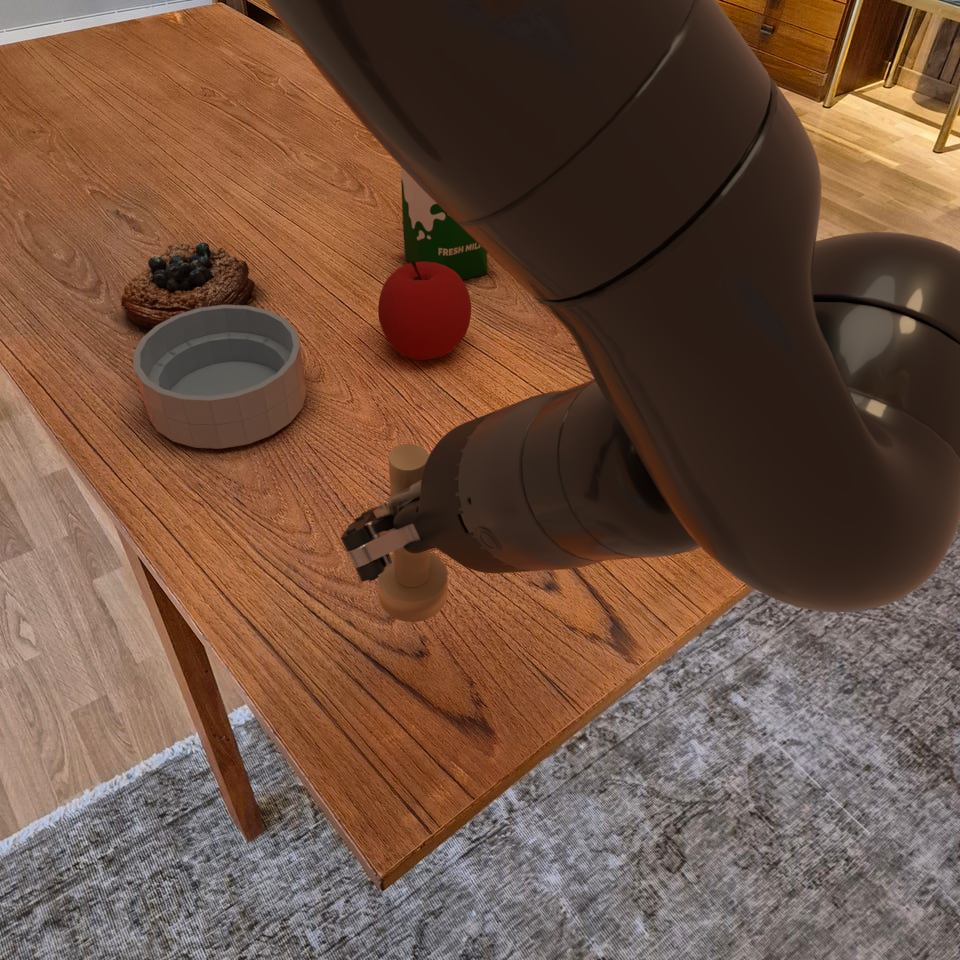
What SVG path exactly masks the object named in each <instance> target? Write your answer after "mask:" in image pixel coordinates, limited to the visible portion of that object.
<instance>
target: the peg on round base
mask: <svg viewBox="0 0 960 960" xmlns="http://www.w3.org/2000/svg"><path fill="white" fill-rule="evenodd" d="M428 458H429V453H428V451H427V450H426V449H425V448H424V447H422V446H421V445H418V444H415V443H402V444H399V445H398V446H395V447H394V448H392V449H391V450H390V452H389V454H388V457H387V461H388V476H389V477H388V478H389V495H390V496H389V497H391V496H392V495H394V494H396V493H398V492H400V491H402V490H404V489H406V488H408V487H410V486H411V485H412V484H414V483H416V482H418V481H420V480H422V476H423V471H424V468H425V465H426V462H427V460H428ZM389 556H390V558H391V560H392V562H393V563H392V565H390V566H388V567H385V569H384V571H383V572H382V573H381V574H379V575H378V576H379V577H378V578H376V579H377V590H378V591H377V592H378V600H379V604H380V606H381V608H382V610H384V612H386V614H387V615H389V616H390V617H392V618H394V619H395V620H398V621H402V622H407V623H418V622H423V621H426V620H427V621H428V620H429V619H431V618H433V617H435V616H436V615H438V614H439V613H440V612H441V611H442V609H443V608H444V607H445V605H446V603H447V600H448V591H449V590H448V586H449V585H448V581H449V580H448V579H449V578H448V577H449V575H448V569H447V567H446V565H445V563H444V562H443V560H442V559H441V558H440V557H439V556H437V555H436V554H434V553H432V552H431V551H430V552H425V553H420V554H413V553H410V552H408V551H406V550H405V549H404V548H402V549H397V550H395V551H393V553H392V554H390V555H389Z"/></svg>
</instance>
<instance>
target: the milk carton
mask: <svg viewBox="0 0 960 960" xmlns="http://www.w3.org/2000/svg"><path fill="white" fill-rule="evenodd" d="M400 182H401V184H400V186H401V212H402V232H403V247H404V248H403V249H404V258H405V259H406V261H407V262H408V264H410V263H411V260H412V259H414V261H415V262H433V263H438V264H441V265H445V266H447V267H448V268H450V269H452V270H453V271H455V272H456V273H457V274H458V275H459V276H460V278H461V279H462V280H463V281H464V280H469V279H473V278H476V277H481V276H485V275H487V274H488V252H487V251H486V250H484V249H483V248H482V247H481V246H480V245H479V244H478V243H477V242H476V241H475V240H474V239H473V238H472V237H471V236H470V235H469V234H468V233H467V232H466V231H465V230H464V229H463V228H462V227H461V226H460V225H459V224H458V223H457V222H456V221H455V220H454V219H452V218H451V217H450V216H449V215H448V214H447V213H446V212H445V211H444V210H443V209H442V208H441V207H440V206H439V205H438V204H437V203H436V202H435V201H434V200H433V199H432V198H431V197H430V196H429V195H428V194H427V193H426V192H425V191H424V190H423V189H422V188H421V187H420V186H419V185H418V184H417V183H416V182H415V181H414V180H413V179H412V177H411V176H410V175H409V174H408V173H407V172H406V171H405V170H404V169H403V168H402V167H401V166H400Z"/></svg>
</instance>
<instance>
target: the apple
mask: <svg viewBox="0 0 960 960" xmlns="http://www.w3.org/2000/svg"><path fill="white" fill-rule="evenodd" d="M377 309H378V310H377V312H378V313H377V314H378V322H379V324H380V328H381V330H382V332H383V334H384V336H385V338H386V339H387V341H388V342H389V344H390V345H391V346H392V348H393V349H394V350H396V351H397V352H398V353H399V354H400V355H401V356H403V357H404V358H407V359H410V360H416V361H427V360H431V359H432V360H433V359H437V358H441V357H444V356H446V355H448V354H449V353H450V352H452V351H453V350H454V349H455V348H456V347H457V346H458V345H459V344H460V343H461V342H462V341H463V339H464V337H465V336H466V334H467V331H468V330H469V326H470V324H471V317H472V302H471V296H470V293H469V290H468V287H467V286H466V283H465V281H464V280H462V279H461V278H460V276H459V275H458V274H457V273H456V272H455V271H453V270H452V269H450V268H448V267H447V266H445V265H441V264H438V263H433V262H415V261H414V259H412V260H411V263H407V264H404V265H402V266H400V267H398V268H397V269H395V270H394V271H393V272H391V274H390V275H389V276H388V277H387V278H386V280H385V282H384V284H383V286H382V289H381V291H380V294H379V298H378V306H377Z"/></svg>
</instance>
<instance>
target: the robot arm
mask: <svg viewBox="0 0 960 960" xmlns="http://www.w3.org/2000/svg"><path fill="white" fill-rule="evenodd" d="M264 1H265V2H266V4H267V5H268V7H270V9H271V10H272V12H273V13H274V14H275V15H276V17H277V18H278V20H279V21H280V23H281V24H282V25H283V27H284V29H286V31H287V33H289V35H290V36H291V37H292V39H293V40H294V41H295V42H296V43H297V45H298V47H300V49H301V50H302V51H303V53H304V54H305V56H306V57H307V58H308V59H309V61H310V62H311V63H312V64H313V65H314V67H315V68H316V70H318V72H319V73H320V75H322V77H323V78H324V79H325V80H326V82H327V83H328V84H329V86H330V87H331V88H332V89H333V91H334V92H335V93H336V94H337V95H338V97H339V98H340V99H341V100H342V102H343V103H344V104H345V105H346V106H347V107H348V108H349V110H350V111H351V112H352V113H353V114H354V116H355V117H356V118H357V119H358V121H359V122H360V123H361V125H363V126H364V128H366V130H367V131H368V132H369V134H371V135H372V136H373V138H374V139H375V140H376V141H377V142H378V143H379V144H380V145H381V147H383V149H384V150H385V151H386V152H387V153H388V154H389V156H390V157H391V158H392V159H393V160H394V161H395V162H396V163H397V164H398V165H399V166H400V168H401V167H402V168H403V169H404V170H405V171H406V172H407V173H408V174H409V175H410V176H411V177H412V179H413V180H414V181H415V182H416V183H417V184H418V185H419V186H420V187H421V188H422V189H423V190H424V191H425V192H426V193H427V194H428V195H429V196H430V197H431V198H432V199H433V200H434V201H435V202H436V203H437V204H438V205H439V206H440V207H441V208H442V209H443V210H444V211H445V212H446V213H447V214H448V215H449V216H450V217H451V218H452V219H454V220H455V221H456V222H457V223H458V224H459V225H460V226H461V227H462V228H463V229H464V230H465V231H466V232H467V233H468V234H469V235H470V236H471V237H472V238H473V239H474V240H475V241H476V242H477V243H478V244H479V245H480V246H481V247H482V248H483V249H484V250H486V251H487V254H488V255H489V256H491V258H492V259H494V260H495V262H496V263H498V264H499V265H500V266H501V268H502V269H504V270H505V271H506V272H507V273H508V274H509V275H510V276H511V277H512V278H513V279H514V280H515V281H516V282H517V283H518V284H519V285H520V286H521V287H522V288H523V289H524V290H526V292H528V293H529V294H530V295H531V296H532V297H533V299H535V300H536V301H537V302H538V303H539V304H540V305H541V306H542V307H543V309H545V310H546V311H547V312H548V313H549V314H550V315H551V316H553V317H554V318H555V319H556V320H557V321H558V322H559V323H560V324H561V325H562V326H563V327H564V328H565V330H566V331H567V333H569V334H570V336H571V338H572V340H573V341H574V343H575V345H576V346H577V348H578V350H579V352H580V354H581V355H582V358H583V360H584V362H585V363H586V365H587V367H588V369H589V371H590V373H591V375H592V377H593V379H590V380H587V381H585V382H583V383H579V384H577V385H574V386H572V387H570V388H567V389H563V390H554V391H548V392H542V393H540V394H539V393H538V394H536V395H531V396H530V397H527V398H525V399H522V400H520V401H517V402H514V403H512V404H510V405H507V406H505V407H501V408H499V409H496V410H493V411H491V412H489V413H486V414H484V415H480V416H479V417H476V418H474V419H471V420H469V421H466V422H463V423H461V424H459V425H457V426H455V427H454V428H452V429H450V430H449V431H448V432H447V433H446V434H445V435H443V436H442V437H441V438H440V439H439V441H438V442H437V443H436V444H435V446H434V447H433V448H432V450H431V452H430V454H429V455H428V460H427V462H426V465H425V468H424V471H423V476H422V480H420V481H418V482H416V483H414V484H412V485H411V486H410V487H408V488H406V489H404V490H402V491H400V492H398V493H396V494H394V495H392V496H391V497H390V496H388V498H387V499H386V500H387V501H386V502H383V503H381V504H379V505H378V506H375V507H372V508H370V509H367V510H366V511H363V512H361V513H360V516H358V517H356V518H354V520H355V521H353V522H351V523H350V524H349V525H348V526H347V528H346V529H345V530H344V532H343V533H342V535H341V536H340V540H341V542H342V544H343V546H344V549H345V550H346V552H347V554H348V557H349V559H350V561H351V563H352V565H353V567H354V569H355V571H356V573H357V575H358V577H359V579H360V581H361V582H362V583H363V582H364V583H365V582H367V581H369V582H372V581H374V580H376V579H377V578H378V577H379V576H378V575H379V574H381V573H382V572H383V571H384V569H385V567H388V566H390V565H392V563H393V562H392V560H391V558H390V556H391V555H390V553H392V552H393V553H394V551H395V550H397V549H402V548H404V549H405V550H406V551H408V552H410V553H413V554H420V553H425V552H430V553H431V552H435V551H438V552H439V553H442V554H444V555H446V556H447V557H449V558H450V559H451V560H453V561H454V562H456V563H458V564H459V565H461V566H462V567H465V568H467V569H469V570H472V571H476V572H478V573H484V574H510V573H528V572H542V571H543V572H544V571H561V570H562V571H563V570H572V569H580V568H584V567H585V568H586V567H589V566H591V565H595V564H598V563H601V562H606V561H619V560H632V559H634V560H635V559H649V558H650V559H651V558H662V557H664V558H665V557H671V556H675V555H679V554H684V553H688V552H689V553H690V552H692V551H696V550H697V549H700V548H701V549H702V550H703V551H704V552H705V553H706V554H707V555H708V556H709V557H710V558H711V559H712V560H713V561H715V562H716V563H717V564H718V565H719V566H721V567H722V568H723V569H725V570H726V571H727V572H728V573H730V574H731V575H732V576H733V577H734V578H736V579H737V580H739V581H741V582H743V583H744V584H745V585H746V586H748V587H750V588H752V589H754V590H755V591H757V592H759V593H761V594H763V595H764V596H767V597H769V598H772V599H774V600H776V601H779V602H781V603H784V604H787V605H790V606H793V607H796V608H801V609H805V610H809V611H814V612H821V613H861V612H866V611H870V610H874V609H877V608H880V607H883V606H888V605H890V604H893V603H895V602H897V601H900V600H902V599H903V598H905V597H906V596H908V595H910V594H911V593H913V592H914V591H916V590H917V589H918V588H920V587H921V586H922V585H923V584H925V583H926V582H927V581H928V580H929V579H930V577H931V576H933V574H934V573H935V572H936V571H937V569H939V567H940V565H941V564H942V562H943V560H944V559H945V557H946V555H947V554H948V551H949V549H950V548H951V545H952V543H953V542H954V540H955V536H956V533H957V531H958V527H959V524H960V250H959V249H957V248H955V247H953V246H952V245H948V244H945V243H943V242H941V241H938V240H935V239H931V238H928V237H924V236H921V235H917V234H911V233H904V232H893V231H872V232H871V231H870V232H856V233H855V232H854V233H846V234H842V235H835V236H832V237H831V236H830V237H827V238H822V239H820V240H817V235H818V229H819V221H820V214H821V205H822V175H821V173H822V172H821V167H820V163H819V160H818V156H817V153H816V149H815V148H814V144H813V142H812V140H811V138H810V136H809V134H808V131H807V130H806V129H805V127H804V125H803V123H802V121H801V120H800V118H799V116H798V115H797V113H796V112H795V110H794V108H793V107H792V105H791V104H790V102H789V100H788V99H787V98H786V96H785V95H784V93H783V91H782V90H781V89H780V87H779V86H778V85H777V83H776V82H775V80H774V79H773V78H772V77H771V76H770V75H769V72H768V71H767V69H766V68H765V67H764V65H763V64H762V62H761V61H760V60H759V58H758V57H757V55H756V54H755V52H754V51H753V50H752V48H751V47H750V45H749V44H748V43H747V41H746V39H745V38H744V37H743V36H742V34H741V33H740V32H739V30H738V29H737V27H736V26H735V24H734V23H733V22H732V20H731V19H730V18H729V16H728V15H727V13H726V11H724V9H723V8H722V6H721V5H720V3H719V2H718V1H717V0H264Z"/></svg>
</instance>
